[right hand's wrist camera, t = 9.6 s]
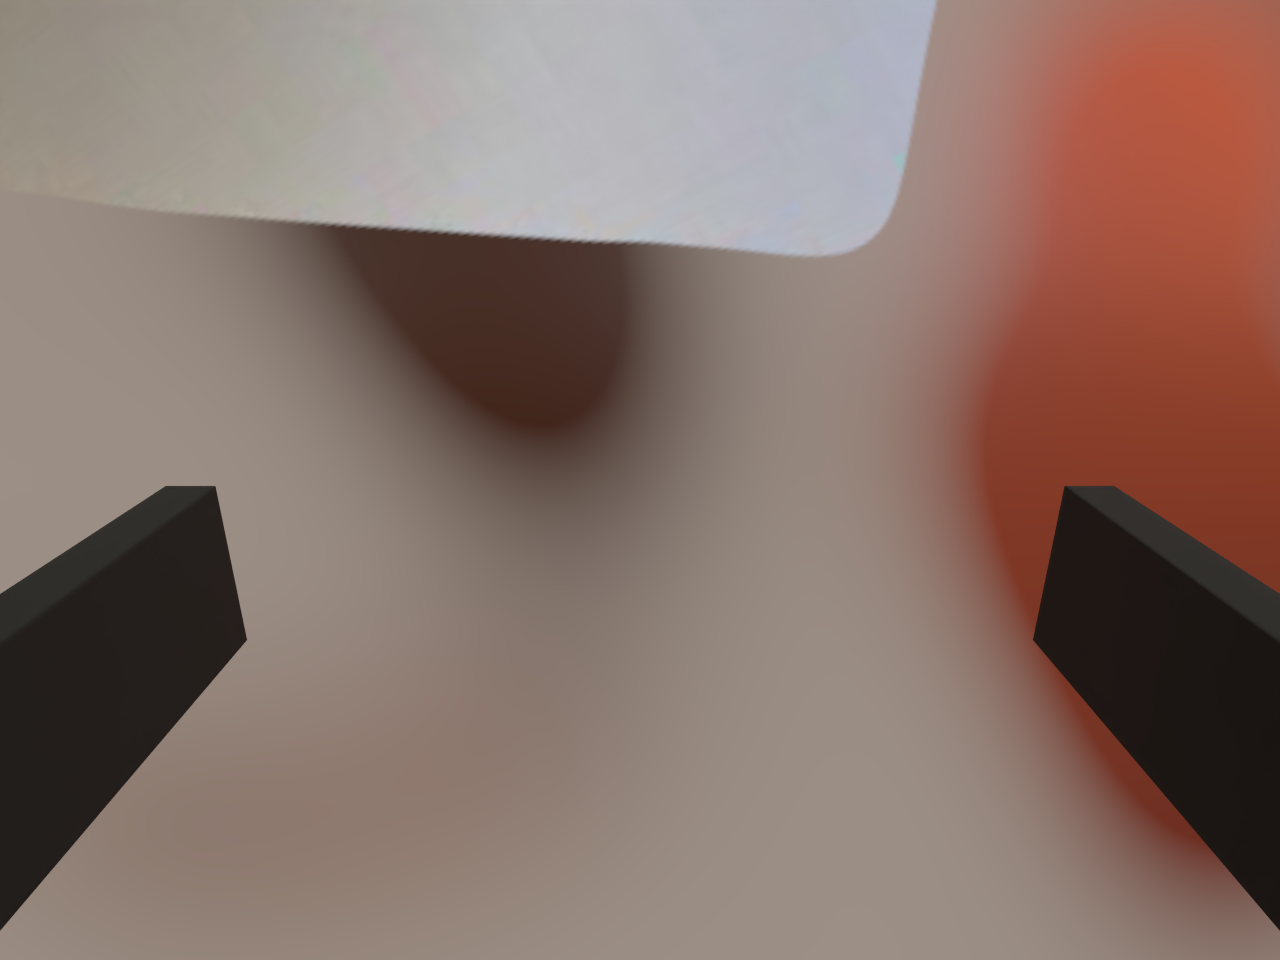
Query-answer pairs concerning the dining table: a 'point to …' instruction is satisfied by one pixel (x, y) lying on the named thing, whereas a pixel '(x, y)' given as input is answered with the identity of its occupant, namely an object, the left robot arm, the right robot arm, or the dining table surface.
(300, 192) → the dining table surface
